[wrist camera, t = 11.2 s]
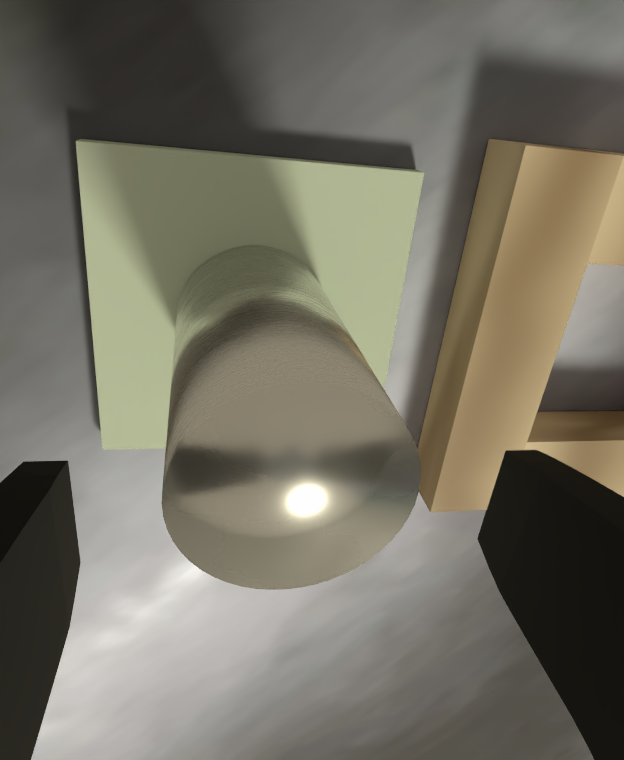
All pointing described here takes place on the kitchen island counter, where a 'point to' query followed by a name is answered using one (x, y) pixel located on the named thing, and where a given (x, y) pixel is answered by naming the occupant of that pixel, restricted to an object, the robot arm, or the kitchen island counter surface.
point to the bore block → (521, 322)
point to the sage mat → (216, 234)
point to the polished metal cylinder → (278, 430)
